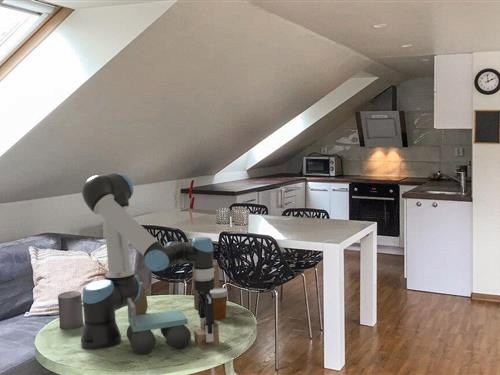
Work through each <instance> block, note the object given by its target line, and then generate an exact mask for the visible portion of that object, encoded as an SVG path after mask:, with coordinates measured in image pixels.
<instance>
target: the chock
mask: <svg viewBox="0 0 500 375" xmlns="http://www.w3.org/2000/svg"><path fill="white" fill-rule="evenodd" d="M214 322H215V324H213V337H214V341H212V342H206V328H205V325H204V329H200V328H199V329H194V330H193V336H194V337H193V338H194V344H195V345H196V346H197V348H199V349H200V348H207V347H211V346H218V345H220V332H219V323H218V322H217V320H214ZM204 324H206V321H204Z"/></svg>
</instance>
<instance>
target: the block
mask: <svg viewBox="0 0 500 375" xmlns="http://www.w3.org/2000/svg"><path fill="white" fill-rule="evenodd" d="M213 264H214V269H215V271H214V277H213V279H214V283H215V288H220V275H219V274H220V272H219V270H220V269H219V263H218V262H217V261H213ZM194 280H195V278H194V265H193V266H192V283H193V284H192V285H193V286H192V287H193V288H192V289H193V308H194V310H195V309H196V310H198V293H197V290H195V284H194Z"/></svg>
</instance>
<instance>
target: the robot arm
mask: <svg viewBox="0 0 500 375" xmlns="http://www.w3.org/2000/svg"><path fill="white" fill-rule="evenodd" d="M81 193H82V194H81V195H82V198H83V202H84V203H85V204H86V206H87V207H88V208H89V210H91V212H92V213H93V214H95V215H100V216H101V217H102V218H103V219H104V230H105V231H104V232H105V243H106V252H107V254H106V255H107V265H108V266H107V267H108V271H107V273H106V274H105V277H104V278H105V279H100V280H97V281H95V280H94V281H91V282H90V283H87V284H86V285H85V286H84V287H83V289H82V295H81V298H82V310H83V323H84V326H83V330H82V335H81V339H80V346H81V348H83V349H86V350H93V351H94V350H103V349H108V348H109V349H110V348H113V347H115V346H117V345H120V343H121V342H122V334H121V331H120V329H119V327H118V325H117V324H118V323H117V322H116V321H117V320H116V311H118V310H120V309H123V308H125V307H128V303H127V298H131V300H132V302H135V301H136V300H137V299H138V298H139V296H140V294H141V283H140V282H141V280H140V281H139V280H138V278H137V277H136V274H135V271H134V270H133V269H132V268H131V262H130V260H131V259H130V249H129V247H130V246H129V245H130V244H131V246H132V247H133V248H134V249H136V251H138V253H139V254H141V255H142V257H144V264H145V265H146V267H147V269H148V270H149V271H151V272H159V271H164V270H166V269H168V268H169V267H172V266H175V265H179V264H181V263H190V264H193V266H194V278H195V280H194V284H195V290H197V293H198V309H197V311H198V312H197V314H198V315H199V316H198V317H199V323H200V325H199V326H200V328H199V329H204V325H205V328H206V342H212V341H214V337H213V324H215V322H214V310H213V298H212V296H211V294H210V290H213V289H214V288H215V283H214V279H213V277H214V271H215V269H214V264H213V262H214V244H213V239H212V238H211V237H208V236H199V237H194V238H193V239H192V241H191V242H185V241H169V242H166V244H165V245H163V244H162V243H161V242H160V241H159V240H157V239H156V237H154V236H153V235H152V234H151V233H150V232H149V231H148V230H147V229H146V228H144V226H142V225H141V224H140V223H139V221H137V220H136V219H135V218H134V217H133V216H132V215H131V214H130V213H128V211H127V209H128V208H129V207H130V202H129V200H130V199H131V198H132V197H133V195H134V185H133V182H132V181H131V179H130V178H129V177H128V176H127V175H125V174H123V173H113V172H112V173H107V174H97V175H93V176H91V177H89V178H87V180H85V182H84V184H83V186H82V190H81ZM204 321H206V324H204Z"/></svg>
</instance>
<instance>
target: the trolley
mask: <svg viewBox="0 0 500 375" xmlns="http://www.w3.org/2000/svg"><path fill="white" fill-rule="evenodd" d="M127 303H128V306H127V319H128V324H129V325H128V327H127V329H126V337H127V339H128V340H127V341H129V342H130V346H131V350H132V351H133V352H134V353H135V354H137V355H140V356H145V355H149V354H150V353H152V352H153V351H154V349H156V345H157V338H156V336H155V334H154V332H153V331H152V330H157V329H158V330H159V329H160V332H161V334H162V336H163V337H164V338H165V341H166V342H167V344H168V346H169V347H170V348H171V349H173V350H182V349H185V348H186V347H188V345H189V343H190V342H191V339H192V333H191V331H190V329H189V328H188V326H186V325H189V323H188V322H189V320H188V318H187V317H186V315H185V314H184V313H183V312H182V310H181V309H175V310H167V311H161V312H154V313H153V312H152V313H146V314H144V315H137V316H136V311H135V305H134V304H133V302H132V300H131V298H127ZM131 309H132V310H131Z"/></svg>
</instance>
